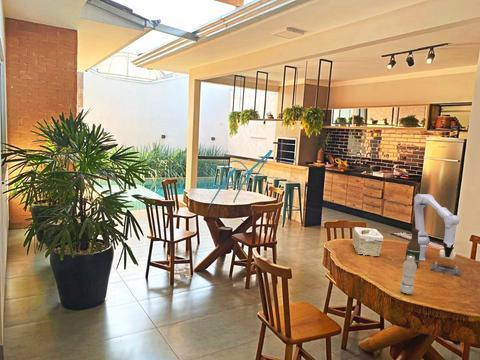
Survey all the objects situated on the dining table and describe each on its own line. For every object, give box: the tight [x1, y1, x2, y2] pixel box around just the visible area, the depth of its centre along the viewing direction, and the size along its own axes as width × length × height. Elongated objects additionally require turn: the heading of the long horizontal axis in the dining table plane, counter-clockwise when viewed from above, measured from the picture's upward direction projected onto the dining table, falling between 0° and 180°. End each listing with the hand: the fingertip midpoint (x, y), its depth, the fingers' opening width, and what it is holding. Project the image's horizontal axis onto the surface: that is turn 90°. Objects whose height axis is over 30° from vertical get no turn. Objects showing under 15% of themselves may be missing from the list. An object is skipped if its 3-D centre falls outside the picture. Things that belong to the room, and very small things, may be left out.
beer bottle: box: [404, 228, 420, 268], centre depth 229 cm, size 8×8×24 cm
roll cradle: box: [430, 261, 462, 277], centre depth 226 cm, size 16×10×4 cm, turn 61°
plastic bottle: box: [399, 255, 417, 295], centre depth 186 cm, size 6×7×20 cm
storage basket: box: [352, 226, 384, 257], centre depth 255 cm, size 24×16×15 cm
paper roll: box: [439, 249, 457, 261], centre depth 227 cm, size 9×5×5 cm, turn 61°
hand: (447, 255), depth 227 cm, fingers closed on paper roll, 5 cm apart
